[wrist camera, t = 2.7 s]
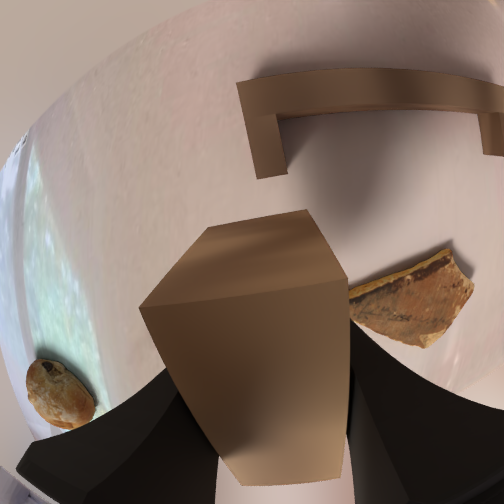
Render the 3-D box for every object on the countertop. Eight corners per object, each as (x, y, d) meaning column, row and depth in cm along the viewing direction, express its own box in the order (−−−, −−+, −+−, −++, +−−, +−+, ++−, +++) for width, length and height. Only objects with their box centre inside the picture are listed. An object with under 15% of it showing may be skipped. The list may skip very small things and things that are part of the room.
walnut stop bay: (483, 90, 11) (504, 86, 9) (495, 154, 13) (516, 157, 10) (241, 94, 13) (236, 82, 11) (259, 176, 15) (257, 179, 13)
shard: (317, 298, 18) (321, 312, 16) (375, 198, 15) (386, 203, 14) (420, 342, 19) (428, 355, 17) (471, 267, 16) (483, 276, 14)
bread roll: (101, 361, 27) (59, 378, 19) (110, 430, 26) (78, 457, 18) (48, 344, 27) (8, 354, 20) (58, 408, 26) (24, 426, 18)
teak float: (306, 209, 9) (347, 278, 4) (325, 377, 12) (340, 477, 6) (207, 227, 10) (138, 307, 4) (253, 386, 12) (241, 485, 7)
